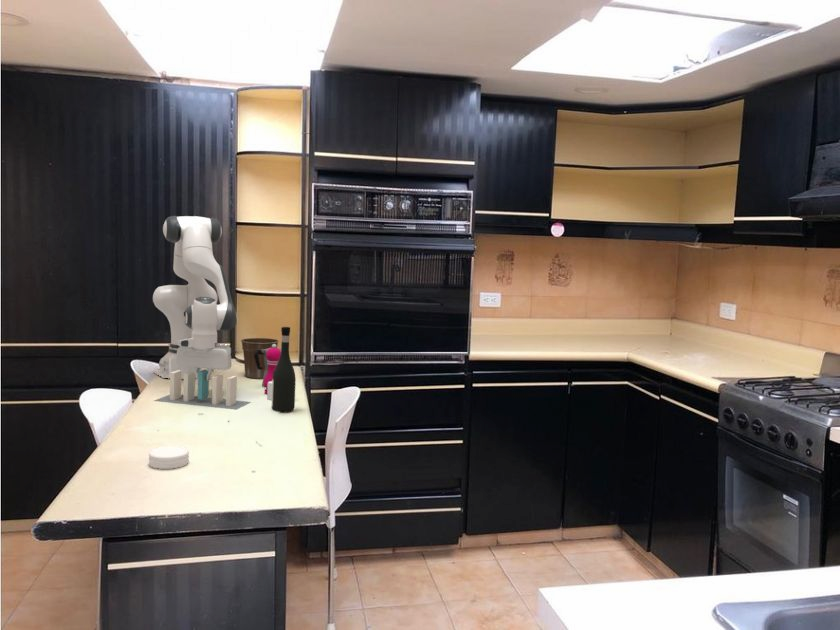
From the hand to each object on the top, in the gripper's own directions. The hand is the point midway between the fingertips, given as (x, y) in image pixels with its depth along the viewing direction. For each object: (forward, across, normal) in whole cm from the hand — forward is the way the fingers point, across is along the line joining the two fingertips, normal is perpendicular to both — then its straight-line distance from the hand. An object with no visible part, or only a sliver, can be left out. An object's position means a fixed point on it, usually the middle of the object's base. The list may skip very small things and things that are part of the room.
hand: (203, 380), depth 243 cm
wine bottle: (+9, -30, -1) cm, 32 cm away
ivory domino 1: (+8, +11, 0) cm, 14 cm away
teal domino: (+7, 0, 0) cm, 7 cm away
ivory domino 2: (+8, +6, 0) cm, 10 cm away
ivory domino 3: (+8, -6, 0) cm, 10 cm away
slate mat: (+8, 0, 0) cm, 8 cm away
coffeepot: (+8, -11, -35) cm, 38 cm away
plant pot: (+8, +1, -52) cm, 52 cm away
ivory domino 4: (+8, -11, 0) cm, 14 cm away
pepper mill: (+9, -17, -22) cm, 30 cm away
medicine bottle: (+9, -24, -14) cm, 29 cm away
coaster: (+9, -24, +62) cm, 67 cm away
